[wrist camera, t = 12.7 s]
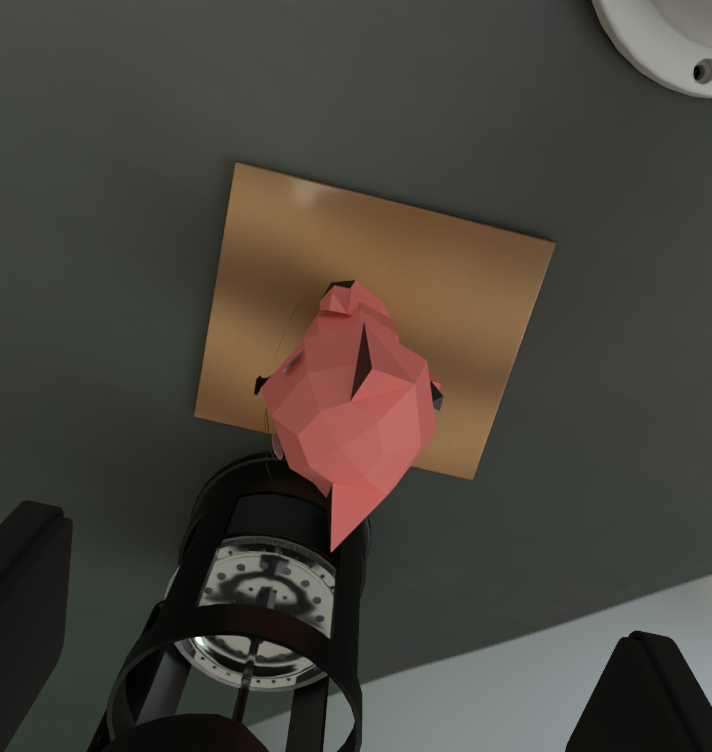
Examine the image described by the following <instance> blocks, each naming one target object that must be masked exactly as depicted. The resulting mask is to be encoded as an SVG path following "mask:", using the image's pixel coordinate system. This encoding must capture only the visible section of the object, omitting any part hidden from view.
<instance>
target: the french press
mask: <svg viewBox="0 0 712 752" xmlns="http://www.w3.org/2000/svg"><path fill="white" fill-rule="evenodd" d="M273 456H274V458H275V460H274V458H273ZM273 456H272V455H271V453H264V454H259V455H253V456H248V457H246V458H243V459H241V460H238V461H235V462H233V463H231V464H230V465H228V466H226V467H225V468H223V469H222V470H220V471H219V472H217V473H216V474H215V475H214V476H213V477H212V478H211V479H210V480H209V481H208V482H207V483H206V485H205V486H204V488H203V489H202V491H201V492H200V494H199V495H198V497H197V500H196V502H195V505H194V508H193V511H192V514H191V522H190V525H189V527H188V529H187V531H186V533H185V535H184V538H183V541H182V544H181V546H180V550H179V560H178V567H179V568H178V569H177V571H176V572H175V574H174V575H173V577H172V578H171V580H170V582H169V585H168V588H167V590H166V593H165V600H163V601H161V602H159V603H157V604H156V605H155V607H154V608H153V610H152V612H151V614H150V617H149V619H148V621H147V623H146V625H145V627H144V630H143V632H142V634H141V636H140V638H139V639H138V640H137V642H136V643H135V645H134V646H133V648H132V649H131V651H130V652H129V654H128V655H127V657H126V660H125V662H124V664H123V666H122V668H121V670H120V672H119V674H118V676H117V679H116V681H115V683H114V685H113V688H112V691H111V694H110V697H109V700H108V703H107V709H106V711H105V713H104V715H103V717H102V720H101V722H100V724H99V726H98V728H97V730H96V732H95V735H94V737H93V739H92V741H91V743H90V745H89V747H88V750H87V752H269V751H268V750H267V748H266V747H265V746H264V745H263V744H262V743H261V742H260V741H259V740H258V739H257V738H256V737H255V736H254V735H253V734H252V733H251V732H250V731H249V730H248V728H247V727H246V726H245V725H244V724H243V723H242V719H243V714H244V710H245V705H246V701H247V697H248V692H249V690H252V691H258V692H278V691H285V690H293V689H294V696H293V703H292V710H291V717H290V724H289V730H288V737H287V744H286V751H285V752H323V744H324V731H325V721H326V709H327V697H328V685H329V677H330V678H331V679H332V680H333V681H334V682H335V683H336V684H337V685H338V687H339V688H340V689H341V690H342V692H343V694H344V695H345V697H346V699H347V701H348V702H349V704H350V706H351V709H352V712H353V715H354V719H355V723H354V727H353V730H352V731H351V733H350V735H349V736H348V738H347V740H346V742H345V743H344V745H343V746H342V747H341V748H340V749H339V750H338V751H337V752H359V751H360V748H361V743H362V691H361V688H360V684H359V680H358V677H357V666H358V636H359V606H360V598H361V596H362V593H363V588H364V584H365V573H366V560H367V557H368V553H369V548H370V541H371V540H370V522H369V518H368V516H367V517H366V518H365V519H364V520H363V521H362V522H361V523H360V524H359V525H358V526H357V527H356V528H355V529H354V530H353V531H352V532H351V533H350V534H349V535H348V536H347V537H346V538H345V539H344V540H343V541H342V542H341V543H340V544H339V545H338V553H337V564H335V563H334V562H333V561H332V560H331V559H330V558H329V557H327V556H326V555H325V554H323V553H322V552H320V551H319V550H318V549H316V548H314V547H312V546H310V545H308V544H306V543H304V542H302V541H299V540H296V539H293V538H290V537H287V536H284V535H279V534H273V533H267V532H241V533H233V534H229V535H225V534H226V531H227V528H228V526H229V523H230V520H231V518H232V515H233V512H234V510H235V507H236V504H237V502H238V499H239V497H245V496H250V495H256V494H275V495H281V496H287V497H293V498H296V499H299V500H302V501H304V502H307V503H310V504H312V505H314V506H316V507H317V508H319V509H321V510H323V511H325V512H326V513H327V501H326V497H325V496H324V495H323V493H322V492H321V491H320V490H319V489H318V488H317V486H316V485H315V484H314V483H313V482H312V481H310V480H308V479H307V478H305V477H303V476H302V475H300V474H298V473H297V472H295V471H293V470H292V469H290V468H289V465H288V462H287V459H286V457H285V454H284V453H283V457H282V459H281V460H280V459H278V458H277V456H276V454H275V453H273ZM266 459H267V467H268V469H267V467H266ZM275 461H276V462H275ZM276 463H277V464H276ZM268 470H269V472H268ZM269 474H270V475H269ZM270 477H271V478H270ZM271 480H272V481H271ZM272 483H273V484H272ZM192 665H193V666H195V667H196V668H198V669H199V670H200V671H202V672H203V673H204V674H206V675H207V676H210V677H212V678H214V679H216V680H218V681H220V682H222V683H224V684H227V685H230V686H233V687H237V688H239V692H238V696H237V700H236V705H235V709H234V713H233V717H232V719H229V718H226V717H223V716H221V715H218V714H183V715H175V712H176V709H177V706H178V703H179V700H180V697H181V695H182V692H183V689H184V686H185V683H186V680H187V677H188V674H189V671H190V668H191V666H192ZM174 715H175V716H174Z"/></svg>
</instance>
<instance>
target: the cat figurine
mask: <svg viewBox="0 0 712 752" xmlns="http://www.w3.org/2000/svg"><path fill="white" fill-rule="evenodd" d="M303 297H304V296H303ZM304 300H305V299H304ZM299 302H300V301H299ZM319 303H320V311H319V312H318V314H317V316H316V317H315V319H314V320H313V322H312V324H311V325H310V327H309V328H308V330H307V332H306V333H305V335H304V337H303V338H302V340H301V341H300V343H299V345H298V346H297V348H296V349H295V350H294V351H293V352H292V353H291V354H290V355H289V357H288V358H287V359H286V360H285V361H284V362H283V363H282V365H281V366H280V367H279V368H278V369H277V370H276V371H275V372H274V374H272V375H271V376H269V377H267V378H262V377H261V375H260V376H259V377H258V378H257V379H256V384H255V390H254V394H255V395H258V393H259V391H260V390H261V392H262V395H263V397H264V400H265V402H266V405H267V407H268V410H269V412H270V414H271V417H272V419H273V422H274V425H275V428H276V431H277V434H278V435H277V434H276V433H273V435H272V445H273V448H274V452H275V454H276V456H277V458H278V459H280V460H281V459H282V457H283V451H284V454H285V457H286V459H287V462H288V465H289V468H290V469H292V470H293V471H295V472H297V473H298V474H300V475H302V476H303V477H305V478H307V479H308V480H310V481H312V482H313V483H314V484H315V485H316V486H317V488H318V489H319V490H320V491H321V492H322V493H323V495H324V496H325V497H326V501H327V513H328V526H329V538H330V550H331V552H332V551H333V550H334V549H335V548H336V547H337V546H338V545H339V544H340V543H341V542H342V541H343V540H344V539H345V538H346V537H347V536H348V535H349V534H350V533H351V532H352V531H353V530H354V529H355V528H356V527H357V526H358V525H359V524H360V523H361V522H362V521H363V520H364V519H365V518H366V517H367V516H368V515H369V514H370V512H371V511H372V510H373V509H374V508H375V507H376V506H377V505H378V504H379V503H380V502H381V501H382V500H383V499H384V498H385V497H386V496H387V495H388V494H389V493H390V492H391V491H392V489H393V488H394V487H395V486H396V485H397V483H398V482H399V481H400V479H401V478H402V477H403V475H404V474H405V473H406V471H407V470H408V469H409V467H410V466H411V465H412V463H413V462H414V461H415V459H416V458H417V457H418V455H419V454H420V453H421V451H422V450H423V449H424V447H425V446H426V445H427V443H428V442H429V441H430V439H431V438H432V437H433V435H434V434H435V433H436V424H435V417H434V409H436V410H438V411H440V408H441V404H442V401H443V397H444V396H443V395H442V394H441V392H440V391H439V389H440V386H441V383H440V382H439V381H438V380H437V379H436V378H435V377H434V376H433V375H432V373H431V372H430V371H429V370H428V363H427V360H425V359H424V358H422V357H421V356H419V355H417V354H416V353H414V352H413V351H411V350H410V349H408V348H406V347H405V346H403V345H402V344H400V343H399V340H398V335H397V330H396V325H395V321H394V319H392V318H391V316H390V315H389V313H388V311H387V309H386V307H385V306H384V304H383V302H382V301H380V300H379V299H378V298H377V297H376V296H374V295H373V294H372V293H371V292H370V291H368V290H367V289H366V288H365V287H364V286H362V285H361V284H360V283H359V282H358V281H356V280H351V281H341V282H331V284H330V285H329V287H328V289H327V290H326V292H325V294H324V296H323V297H322V299H321V301H320V302H319ZM300 305H301V304H300ZM300 305H299V306H300ZM299 306H298V307H299ZM298 307H297V308H298ZM294 310H295V309H294ZM295 311H296V310H295ZM295 311H294V312H295ZM294 312H293V313H294ZM293 313H292V315H293ZM291 317H292V316H291ZM290 319H291V318H290ZM289 322H290V321H289ZM287 327H288V326H287ZM285 332H286V330H285ZM284 334H285V333H284ZM283 336H284V335H283ZM282 339H283V338H282ZM281 341H282V340H281ZM280 344H281V343H280ZM279 346H280V345H279ZM277 351H278V350H277ZM275 356H276V355H275ZM274 358H275V357H274ZM433 408H434V409H433ZM266 416H267V408H266ZM267 425H268V416H267ZM268 434H269V425H268ZM278 436H279V437H278ZM269 443H270V435H269ZM265 445H266V427H265ZM282 448H283V450H282ZM270 453H271V455H272V456H273V453H272V451H271V444H270ZM273 458H274V456H273ZM274 460H275V458H274ZM275 462H276V461H275ZM276 464H277V463H276ZM266 467H267V459H266ZM267 469H268V467H267ZM268 472H269V470H268ZM269 475H270V474H269ZM270 478H271V477H270ZM271 481H272V480H271ZM272 484H273V483H272Z"/></svg>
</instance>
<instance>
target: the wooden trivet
mask: <svg viewBox="0 0 712 752" xmlns="http://www.w3.org/2000/svg"><path fill="white" fill-rule="evenodd" d="M555 245H556V243H555V242H553V241H550V240H546V239H542V238H538V237H534V236H530V235H527V234H523V233H519V232H515V231H511V230H507V229H503V228H499V227H495V226H491V225H487V224H483V223H479V222H475V221H471V220H467V219H463V218H459V217H455V216H451V215H447V214H443V213H439V212H435V211H431V210H427V209H423V208H420V207H416V206H412V205H408V204H404V203H400V202H396V201H392V200H388V199H384V198H380V197H376V196H372V195H368V194H364V193H360V192H356V191H352V190H348V189H344V188H340V187H336V186H332V185H328V184H324V183H320V182H316V181H313V180H309V179H305V178H301V177H297V176H293V175H289V174H285V173H281V172H277V171H273V170H269V169H265V168H261V167H257V166H253V165H249V164H245V163H241V162H236V163H235V167H234V173H233V179H232V185H231V191H230V198H229V204H228V210H227V216H226V222H225V228H224V234H223V241H222V247H221V253H220V259H219V265H218V271H217V277H216V283H215V290H214V296H213V302H212V308H211V314H210V320H209V326H208V332H207V339H206V345H205V351H204V357H203V363H202V369H201V375H200V381H199V388H198V394H197V400H196V406H195V412H194V417H197V418H202V419H206V420H210V421H215V422H219V423H224V424H228V425H232V426H237V427H241V428H246V429H250V430H254V431H259V432H263V433H265V427H266V433H267V434H268V425H269V434H272V435H273V433H276V434H277V431H276V428H275V425H274V422H273V419H272V417H271V414H270V412H269V410H268V407H267V405H266V402H265V400H264V397H263V395H262V392H261V390H260V391H259V393H258V395H255V394H254V390H255V384H256V379H257V378H258V377H259V376H260V375H261V377H262V378H267V377H269V376H271V375H272V374H274V372H275V371H276V370H277V369H278V368H279V367H280V366H281V365H282V363H283V362H284V361H285V360H286V359H287V358H288V357H289V355H290V354H291V353H292V352H293V351H294V350H295V349H296V348H297V346H298V345H299V343H300V341H301V340H302V338H303V337H304V335H305V333H306V332H307V330H308V328H309V327H310V325H311V324H312V322H313V320H314V319H315V317H316V316H317V314H318V312H319V311H320V303H319V302H320V301H321V299H322V297H323V296H324V294H325V292H326V290H327V289H328V287H329V285H330V284H331V282H341V281H351V280H356V281H358V282H359V283H360V284H361V285H362V286H364V287H365V288H366V289H367V290H368V291H370V292H371V293H372V294H373V295H374V296H376V297H377V298H378V299H379V300H380V301H382V302H383V304H384V306H385V307H386V309H387V311H388V313H389V315H390V316H391V318H392V319H394V321H395V325H396V330H397V335H398V340H399V343H400V344H402V345H403V346H405V347H406V348H408V349H410V350H411V351H413V352H414V353H416V354H417V355H419V356H421V357H422V358H424V359H425V360H427V363H428V370H429V371H430V372H431V373H432V375H433V376H434V377H435V378H436V379H437V380H438V381H439V382H440V383H441V386H440V389H439V391H440V392H441V394H442V395H443V396H444V397H443V401H442V404H441V408H440V411H438V410H436V409H434V408H433V409H434V417H435V424H436V433H435V434H434V435H433V437H432V438H431V439H430V441H429V442H428V443H427V445H426V446H425V447H424V449H423V450H422V451H421V453H420V454H419V455H418V457H417V458H416V459H415V461H414V462H413V463H412V465H411V466H412V467H417V468H421V469H426V470H430V471H434V472H439V473H443V474H448V475H452V476H456V477H461V478H465V479H470V480H473V478H474V475H475V472H476V469H477V466H478V463H479V460H480V458H481V455H482V452H483V449H484V446H485V443H486V441H487V438H488V435H489V432H490V429H491V426H492V424H493V421H494V418H495V415H496V412H497V409H498V406H499V404H500V401H501V398H502V395H503V392H504V389H505V387H506V384H507V381H508V378H509V375H510V372H511V370H512V367H513V364H514V361H515V358H516V355H517V353H518V350H519V347H520V344H521V341H522V338H523V335H524V333H525V330H526V327H527V324H528V321H529V318H530V316H531V313H532V310H533V307H534V304H535V301H536V299H537V296H538V293H539V290H540V287H541V284H542V281H543V279H544V276H545V273H546V270H547V267H548V264H549V262H550V259H551V256H552V253H553V250H554V247H555ZM303 296H304V297H303ZM304 299H305V300H304ZM299 301H300V302H299ZM300 304H301V305H300ZM299 305H300V306H299ZM298 306H299V307H298ZM297 307H298V308H297ZM294 309H295V310H296V311H295V310H294ZM294 311H295V312H294ZM293 312H294V313H293ZM292 313H293V315H292ZM291 316H292V317H291ZM290 318H291V319H290ZM289 321H290V322H289ZM287 326H288V327H287ZM285 330H286V332H285ZM284 333H285V334H284ZM283 335H284V336H283ZM282 338H283V339H282ZM281 340H282V341H281ZM280 343H281V344H280ZM279 345H280V346H279ZM277 350H278V351H277ZM275 355H276V356H275ZM274 357H275V358H274ZM266 408H267V416H268V425H267V416H266ZM277 435H278V434H277Z"/></svg>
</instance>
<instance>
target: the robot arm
mask: <svg viewBox="0 0 712 752" xmlns="http://www.w3.org/2000/svg"><path fill="white" fill-rule="evenodd" d="M591 1H592V3H593V6H594V8H595V11H596V13H597V16H598V18H599V21H600V23H601V26H602V27H603V29H604V30H605V32H606V33H607V35H608V36H609V38H610V39H611V41H612V42H613V44H614V45H615V47H616V48H617V50H618V51H619V52H620V53H621V54H622V55H623V56H624V57H625V58H626V59H627V60H628V61H629V62H630V63H631V64H632V65H633V66H634V67H635V68H636V69H637V70H638V71H639V72H640V73H642V74H644V75H645V76H647V77H649V78H650V79H652V80H654V81H655V82H657V83H658V84H660V85H662V86H663V87H665V88H668V89H671V90H674V91H677V92H680V93H683V94H686V95H689V96H692V97H701V98H711V99H712V0H591ZM695 66H697V67H698V68H699V70H700V75H699V77H698V78H697V79H696V80H695V79H694V76H693V72H694V67H695ZM72 529H73V522H72V520H71V519H68V518H64V512H63V510H62V508H60V507H57V506H52V505H47V504H42V503H38V502H33V501H28V500H26V501H23V502H22V503H21V504H19V505H18V506H17V507H16V509H15V510H14V511H13V512H12V513H11V514H10V515H9V516H8V517H7V518H6V519H5V520H4V521H3V522H2V523H1V524H0V752H4V751H5V749H6V747H7V746H8V744H9V743H10V741H11V739H12V738H13V736H14V734H15V733H16V731H17V729H18V728H19V726H20V724H21V723H22V721H23V719H24V718H25V716H26V714H27V713H28V711H29V709H30V708H31V706H32V704H33V703H34V701H35V699H36V698H37V696H38V694H39V693H40V691H41V689H42V688H43V686H44V684H45V683H46V681H47V680H48V678H49V676H50V675H51V673H52V671H53V670H54V668H55V666H56V664H57V662H58V660H59V658H60V655H61V652H62V649H63V644H64V634H65V621H66V608H67V595H68V582H69V569H70V555H71V542H72ZM565 752H712V706H711V705H710V703H709V701H708V699H707V698H706V696H705V694H704V692H703V690H702V689H701V687H700V685H699V683H698V682H697V680H696V678H695V677H694V675H693V673H692V671H691V669H690V668H689V666H688V664H687V662H686V661H685V659H684V657H683V655H682V653H681V652H680V650H679V648H678V646H677V645H676V643H675V642H674V641H673V640H672V639H671V638H669V637H666V636H661V635H656V634H652V633H646V632H642V631H634V632H632V633H630V635H629V636H628V637H622V638H621V639H620V640H619V642H618V643H617V645H616V647H615V649H614V651H613V653H612V655H611V657H610V659H609V661H608V663H607V665H606V667H605V669H604V671H603V673H602V675H601V677H600V679H599V681H598V683H597V685H596V687H595V689H594V691H593V693H592V695H591V697H590V699H589V701H588V703H587V705H586V707H585V709H584V711H583V713H582V715H581V717H580V719H579V721H578V723H577V725H576V728H575V729H574V731H573V733H572V735H571V737H570V740H569V741H568V743H567V746H566V750H565Z"/></svg>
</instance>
